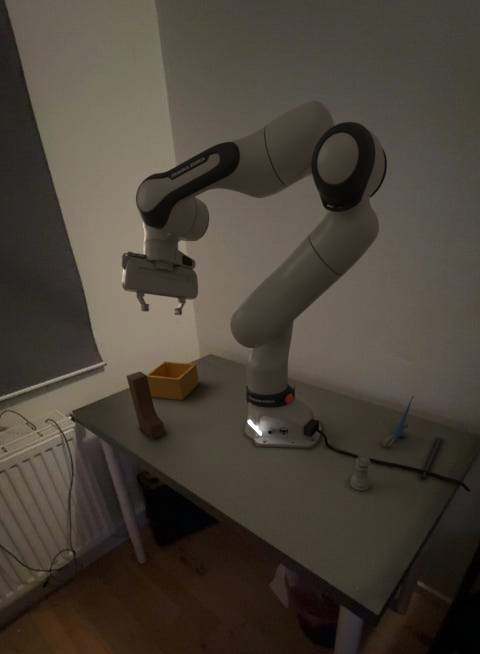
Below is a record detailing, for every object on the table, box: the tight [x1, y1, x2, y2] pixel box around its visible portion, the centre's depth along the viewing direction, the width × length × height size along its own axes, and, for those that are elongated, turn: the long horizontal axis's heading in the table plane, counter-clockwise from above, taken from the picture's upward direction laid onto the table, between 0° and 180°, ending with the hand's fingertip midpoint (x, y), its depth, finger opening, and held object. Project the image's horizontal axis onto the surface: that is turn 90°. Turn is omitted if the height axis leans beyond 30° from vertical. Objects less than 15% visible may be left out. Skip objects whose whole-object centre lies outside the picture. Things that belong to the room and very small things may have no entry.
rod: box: [420, 436, 443, 480], centre depth 87 cm, size 1×19×1 cm, turn 143°
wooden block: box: [126, 371, 166, 440], centre depth 102 cm, size 9×4×18 cm, turn 39°
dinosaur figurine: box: [380, 395, 414, 449], centre depth 93 cm, size 3×15×10 cm
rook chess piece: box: [349, 454, 372, 492], centre depth 79 cm, size 4×4×8 cm
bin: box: [145, 361, 200, 401], centre depth 128 cm, size 14×14×8 cm
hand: (162, 313), depth 93 cm, fingers open, 8 cm apart
